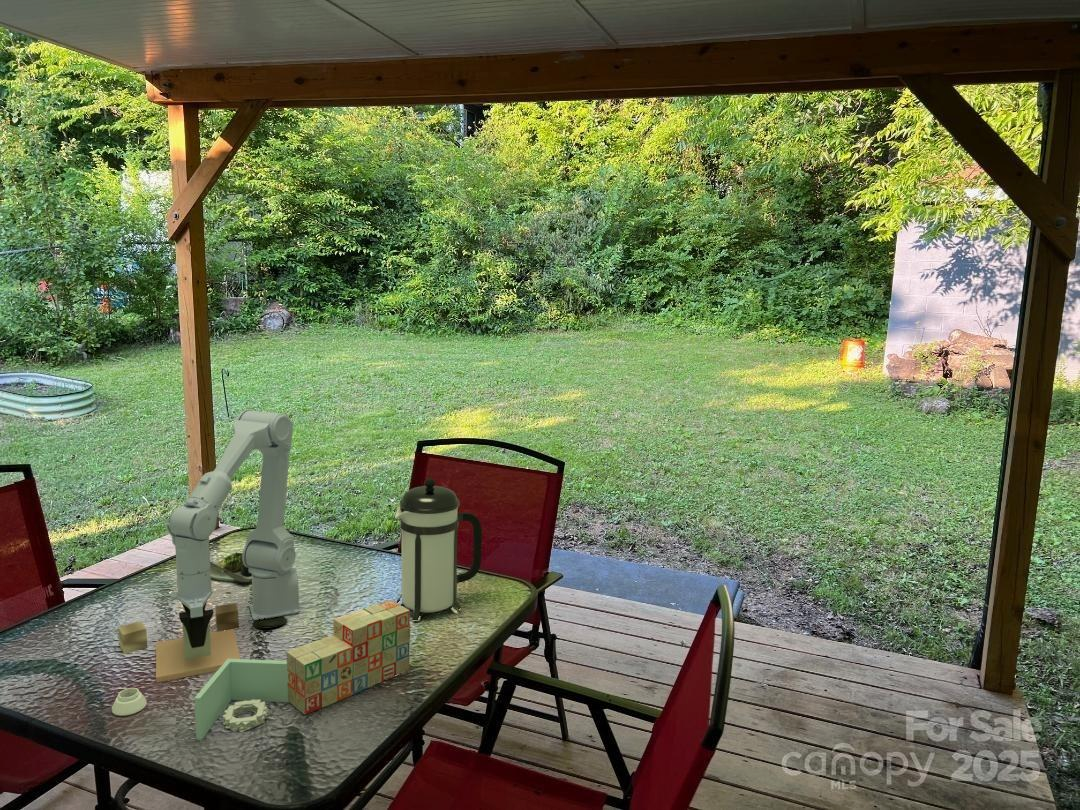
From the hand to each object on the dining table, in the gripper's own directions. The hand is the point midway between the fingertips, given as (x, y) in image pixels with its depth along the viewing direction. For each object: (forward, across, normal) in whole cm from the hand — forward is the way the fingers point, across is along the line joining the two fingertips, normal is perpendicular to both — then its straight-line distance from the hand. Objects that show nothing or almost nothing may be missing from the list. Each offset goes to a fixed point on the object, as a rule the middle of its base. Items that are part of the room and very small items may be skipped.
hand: (196, 637), depth 138 cm
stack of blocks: (+4, +22, +24) cm, 33 cm away
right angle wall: (+5, +25, +7) cm, 26 cm away
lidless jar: (+4, +14, -11) cm, 18 cm away
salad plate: (+4, -40, +13) cm, 42 cm away
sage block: (+3, 0, 0) cm, 3 cm away
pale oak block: (+4, -9, -11) cm, 15 cm away
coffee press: (+4, -3, +48) cm, 48 cm away
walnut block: (+4, -11, +6) cm, 13 cm away
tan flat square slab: (+4, 0, 0) cm, 4 cm away
